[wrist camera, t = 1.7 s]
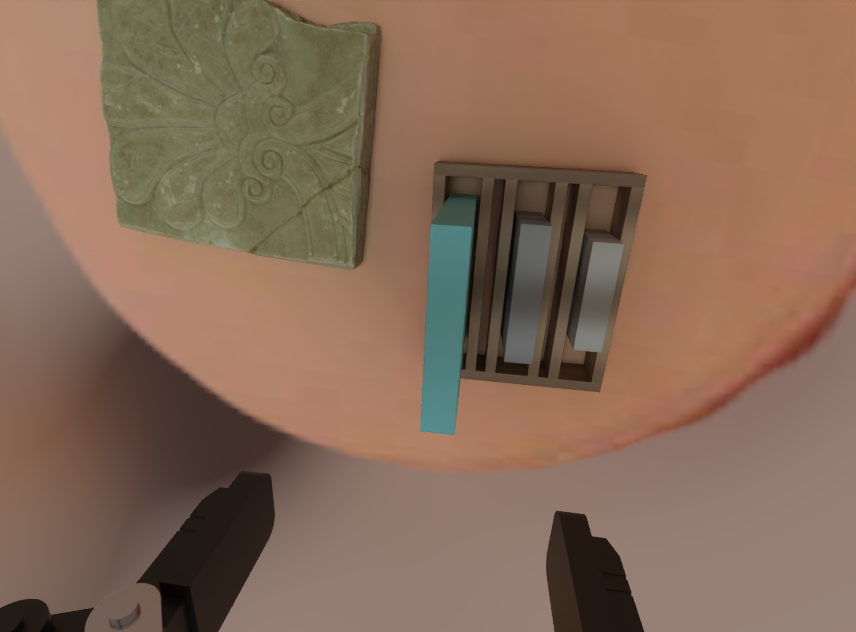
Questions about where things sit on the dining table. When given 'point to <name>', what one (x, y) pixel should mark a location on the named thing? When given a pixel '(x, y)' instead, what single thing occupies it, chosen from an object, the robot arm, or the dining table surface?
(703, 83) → the dining table surface
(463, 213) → the teal sheet
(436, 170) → the rack
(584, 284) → the offcut short
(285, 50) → the decorative tile
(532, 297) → the offcut tall
